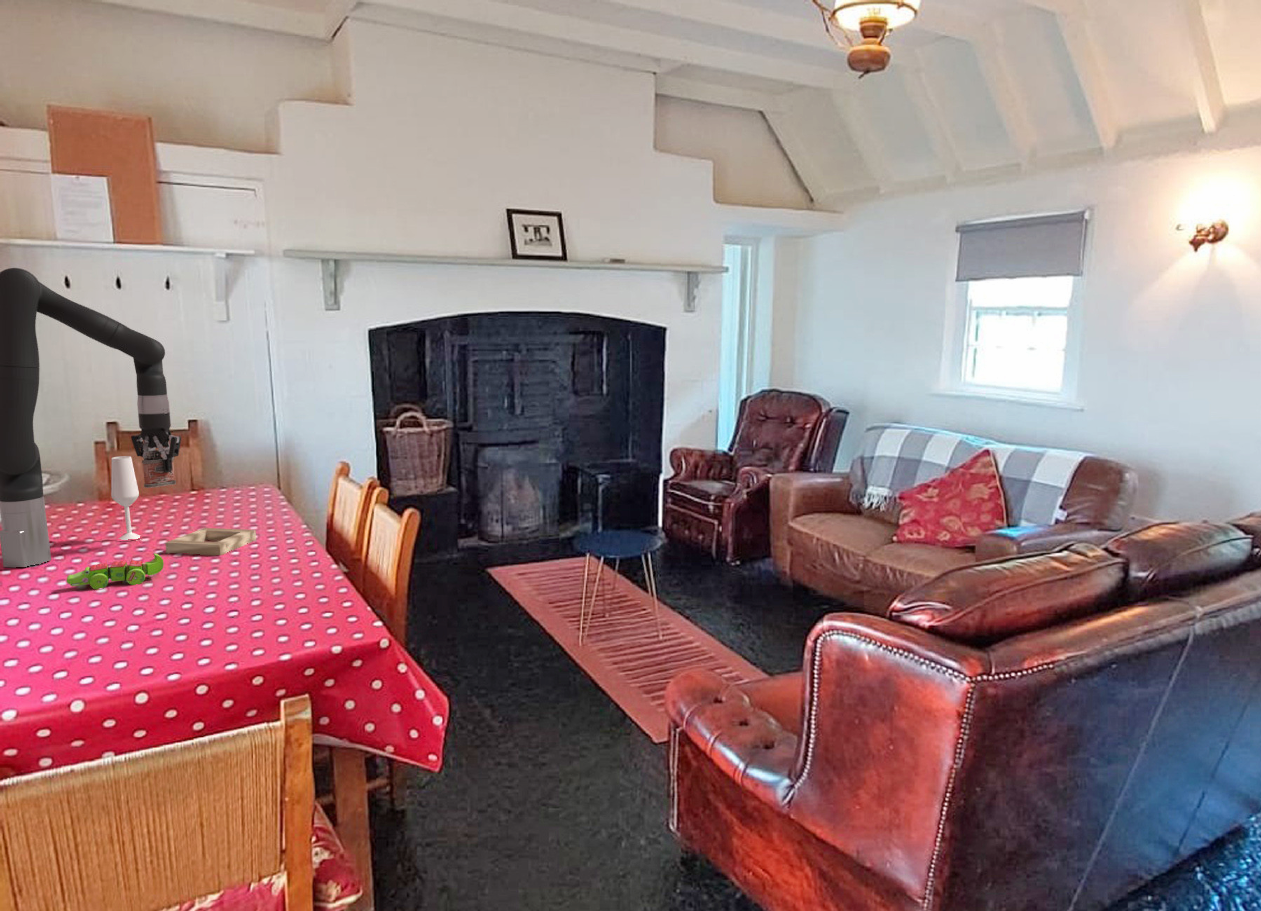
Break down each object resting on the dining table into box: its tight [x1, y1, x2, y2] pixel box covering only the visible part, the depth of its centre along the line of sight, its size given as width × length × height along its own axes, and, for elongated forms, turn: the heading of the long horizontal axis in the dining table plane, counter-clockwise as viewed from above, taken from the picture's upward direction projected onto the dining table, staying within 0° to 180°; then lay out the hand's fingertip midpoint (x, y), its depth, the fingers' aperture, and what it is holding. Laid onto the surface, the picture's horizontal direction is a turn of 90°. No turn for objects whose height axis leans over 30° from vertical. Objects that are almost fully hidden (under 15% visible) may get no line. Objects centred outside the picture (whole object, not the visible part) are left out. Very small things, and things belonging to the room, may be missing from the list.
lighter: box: [141, 449, 177, 489], centre depth 221 cm, size 8×3×10 cm, turn 143°
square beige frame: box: [165, 527, 257, 556], centre depth 221 cm, size 16×16×3 cm
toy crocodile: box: [66, 553, 165, 590], centre depth 189 cm, size 20×7×6 cm, turn 118°
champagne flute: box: [110, 455, 141, 540], centre depth 227 cm, size 7×7×24 cm
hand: (159, 471), depth 221 cm, fingers closed on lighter, 4 cm apart
